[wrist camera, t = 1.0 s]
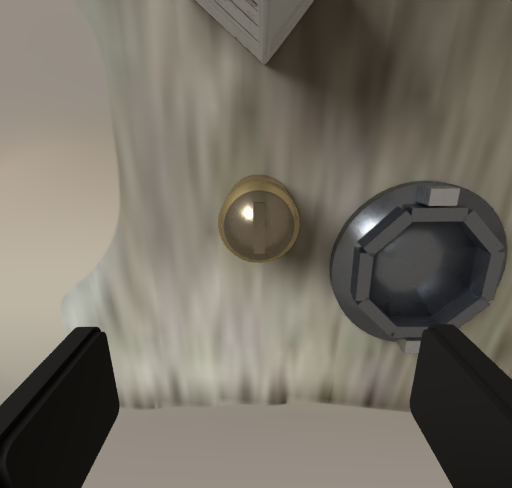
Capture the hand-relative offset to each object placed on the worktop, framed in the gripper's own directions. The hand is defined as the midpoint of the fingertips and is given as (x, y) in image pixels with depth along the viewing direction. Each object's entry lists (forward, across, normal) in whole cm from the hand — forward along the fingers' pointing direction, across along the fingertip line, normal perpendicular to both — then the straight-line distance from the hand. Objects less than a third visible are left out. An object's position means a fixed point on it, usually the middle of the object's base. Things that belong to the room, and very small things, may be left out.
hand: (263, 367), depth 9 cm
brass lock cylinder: (+17, 0, -1) cm, 17 cm away
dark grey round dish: (+17, -13, +4) cm, 22 cm away
